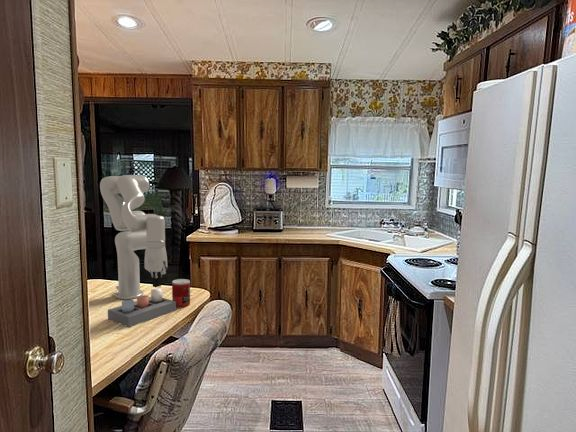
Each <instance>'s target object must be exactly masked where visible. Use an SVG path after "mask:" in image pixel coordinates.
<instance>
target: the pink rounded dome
mask: <svg viewBox="0 0 576 432" xmlns="http://www.w3.org/2000/svg"><path fill="white" fill-rule="evenodd" d="M149 297H150V296H149V295H145V294H143V295H142V296H138V297H137V298H136V301H137V308H140V309H143V308H146V307H149Z"/></svg>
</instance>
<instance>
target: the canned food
mask: <svg viewBox="0 0 576 432" xmlns="http://www.w3.org/2000/svg"><path fill="white" fill-rule="evenodd" d="M171 281H172V282H171V293H172V295H171V297H172V298H171V300H172V301H176V308H186V307H189V306H190V305H191V281H190V279H185V278H177V279H174V280H171Z"/></svg>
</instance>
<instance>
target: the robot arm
mask: <svg viewBox="0 0 576 432" xmlns="http://www.w3.org/2000/svg"><path fill="white" fill-rule="evenodd" d="M99 189H100V194H101V197H102V199H103V200H104V202H105V204H106V206H107V207H108V211H109V213H110V214H109V215H110V217H111V221H112V224H113V227H114V229H115V230H116V231H120V232H118V233H117V234H116V235H115V237H114V244H115V248H116V254H117V255H116V256H117V273H118V275H117V277H118V279H117V280H118V283H117V284H118V285H116V287H115V289H117V292H116V293H115V298H116V299H118V300H134V299H137V297H138V296H143V295H144V291H143V290H141V283H140V281H141V280H140V276H141V275H140V273H141V272H140V258H139V256H138V255H137V254H136V253H135V251H137V250H145V251H144V265H143V266H144V269H145V270H146V271H148V273H150V275H151V278H152V288H160V287H161V286H162V278H163V275H166V274H167V270H168V256H167V250H166V225H165V224H166V223H165V218H164V216H162V215H158V214H155V213H145V212H144V211H142V210H135V209H138V208H139V207H140V206H142V205H143V204H144V203H145V200H146V199H145V198H146V197H145V195H144V194H145V193H147V192H148V191H149V189H150V181H149V178H148V177H146V176H145V175H141V174H123V175H116V176H115V175H111V176H105V177H103V178H102V179H101V180H100V182H99ZM143 193H144V194H143ZM119 194H120V195H121V196H122V197H121V196H120V195H119Z"/></svg>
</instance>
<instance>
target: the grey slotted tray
mask: <svg viewBox="0 0 576 432" xmlns="http://www.w3.org/2000/svg"><path fill="white" fill-rule="evenodd" d="M176 311H177V307H176V301H172V299H169V298H165V297H162V301H158V302H153V301H151V296H149V307H146V308H143V309H140V308H137V300H134V311H133V312H130V313H127V314H125V313H122V305H119V306H115V307H112V308H109V309H107V320H109V321H112V322H114V323H116V324H119V325H122V326H124V327H127V328H130V327H133V326H136V325H139V324H142V323H145V322H147V321H150V320H154V319H156V318H158V317H161V316H164V315H167V314H170V313H172V312H176Z"/></svg>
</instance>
